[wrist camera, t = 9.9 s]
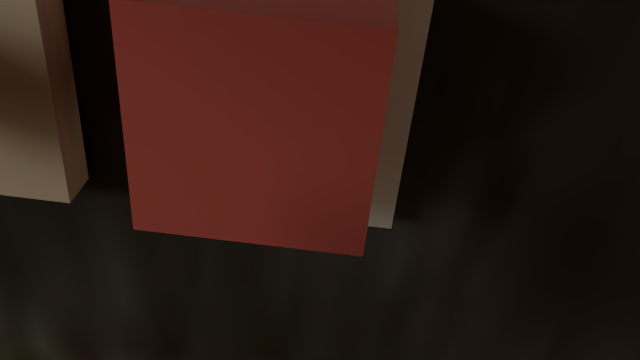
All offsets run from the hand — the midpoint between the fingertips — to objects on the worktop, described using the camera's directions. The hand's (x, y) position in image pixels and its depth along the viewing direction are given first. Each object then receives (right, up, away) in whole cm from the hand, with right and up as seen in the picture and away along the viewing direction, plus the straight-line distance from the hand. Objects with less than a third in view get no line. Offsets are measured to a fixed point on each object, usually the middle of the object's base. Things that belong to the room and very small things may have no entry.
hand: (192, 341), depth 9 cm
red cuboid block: (+1, +5, +8) cm, 10 cm away
